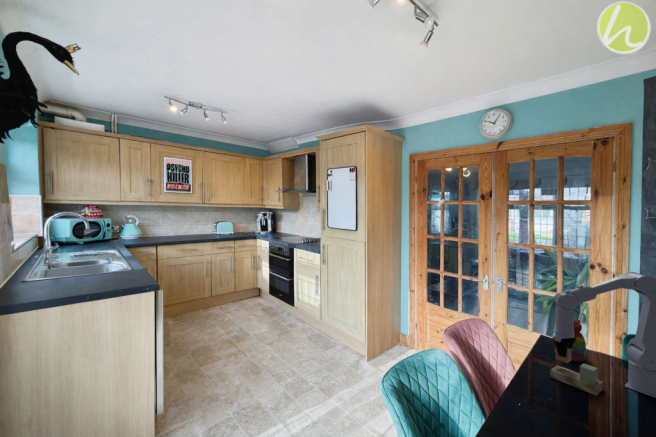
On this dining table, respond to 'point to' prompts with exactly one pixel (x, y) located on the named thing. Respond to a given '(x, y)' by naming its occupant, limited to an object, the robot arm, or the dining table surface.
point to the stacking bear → (578, 343)
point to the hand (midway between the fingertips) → (564, 355)
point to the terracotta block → (566, 359)
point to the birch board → (575, 380)
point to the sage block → (588, 373)
